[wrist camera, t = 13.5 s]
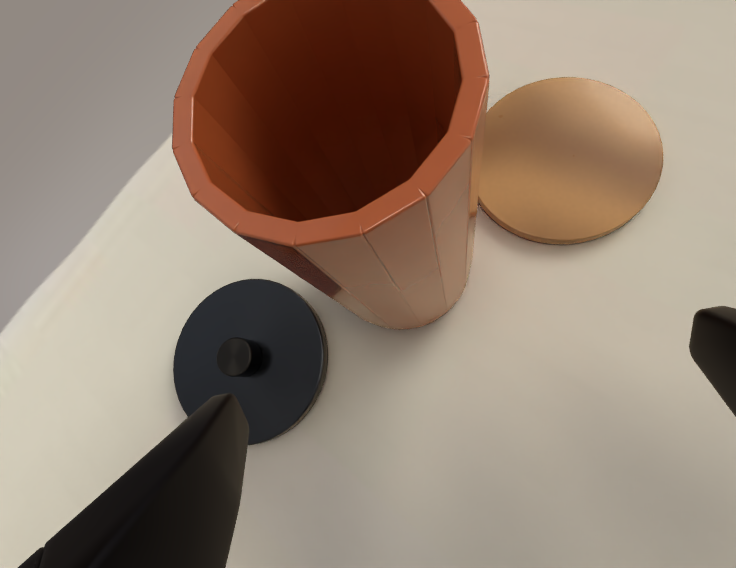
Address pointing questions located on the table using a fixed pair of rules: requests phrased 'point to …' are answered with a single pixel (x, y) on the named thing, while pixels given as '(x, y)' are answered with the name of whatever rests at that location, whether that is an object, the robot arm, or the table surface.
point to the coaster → (567, 160)
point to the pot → (343, 144)
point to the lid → (253, 355)
